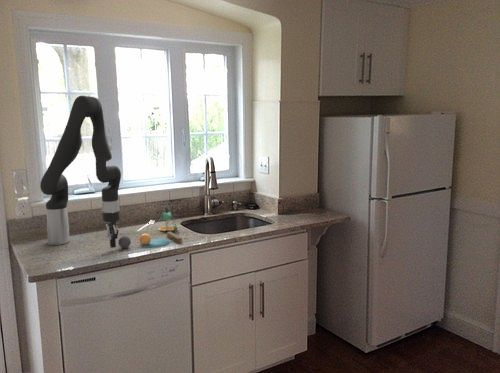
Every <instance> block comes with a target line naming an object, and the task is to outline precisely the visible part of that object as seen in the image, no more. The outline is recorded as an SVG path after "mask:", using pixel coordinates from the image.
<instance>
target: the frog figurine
mask: <svg viewBox="0 0 500 373" xmlns="http://www.w3.org/2000/svg"><path fill="white" fill-rule="evenodd" d="M172 212H173V211H172V209H169V206H168V205H166V206H165V211H164V210H161V212H160V213H161V217H160V218H159V219H158V221H162V220H164V222H165V223H164V225H165V226H164V225H163V226H159V227H158V231H160V232H172V233H174V234H176V235H177V234H180V232H179V228H178V226H177V225H176V224H175V223H174V225H170V223H169V221H171V220H172V219H173V220H172V222H175V217H174V216H173V215H172Z"/></svg>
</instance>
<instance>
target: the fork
mask: <svg viewBox="0 0 500 373" xmlns="http://www.w3.org/2000/svg"><path fill="white" fill-rule="evenodd" d="M148 223H149V224H148ZM148 223H146V224H145V225H143V226H141V227H140V228H139V229H137V230H136V232H140V231H141V230H143V229H144V228H146V227H148V226H151V225H153V224H154V223H155V220H154V219H150V221H148Z"/></svg>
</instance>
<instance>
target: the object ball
mask: <svg viewBox="0 0 500 373" xmlns="http://www.w3.org/2000/svg"><path fill="white" fill-rule="evenodd" d="M151 239H152V237H151V235H150V234H149V233H142V234H141V235H140V236H139V239H138V240H139V244H140V243H141V244H142V245H148V244H149V243H150V242H151Z"/></svg>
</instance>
